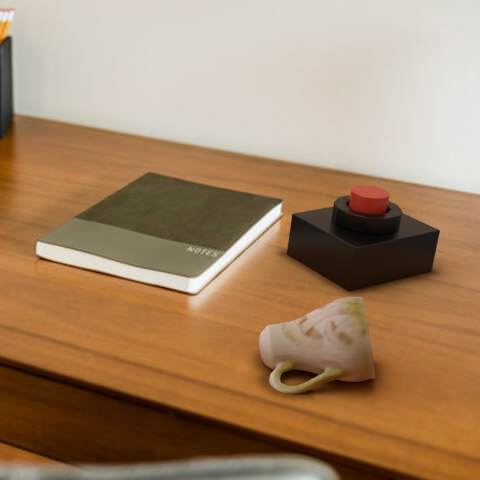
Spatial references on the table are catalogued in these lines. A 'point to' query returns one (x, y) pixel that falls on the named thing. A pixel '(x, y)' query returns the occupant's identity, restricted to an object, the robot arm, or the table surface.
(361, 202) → the button
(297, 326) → the mug
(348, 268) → the console
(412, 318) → the table surface
